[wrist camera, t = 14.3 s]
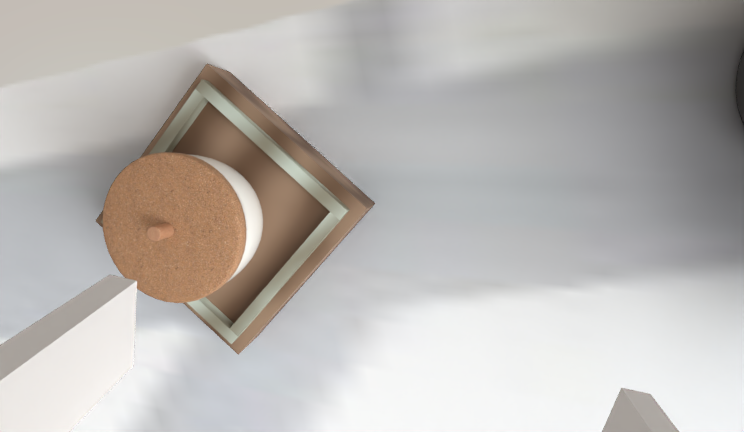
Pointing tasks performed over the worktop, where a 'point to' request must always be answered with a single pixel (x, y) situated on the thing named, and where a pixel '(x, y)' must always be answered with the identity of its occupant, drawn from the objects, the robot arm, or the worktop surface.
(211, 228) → the lidded jar
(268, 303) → the tray
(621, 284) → the worktop surface
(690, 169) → the worktop surface
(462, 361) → the worktop surface
